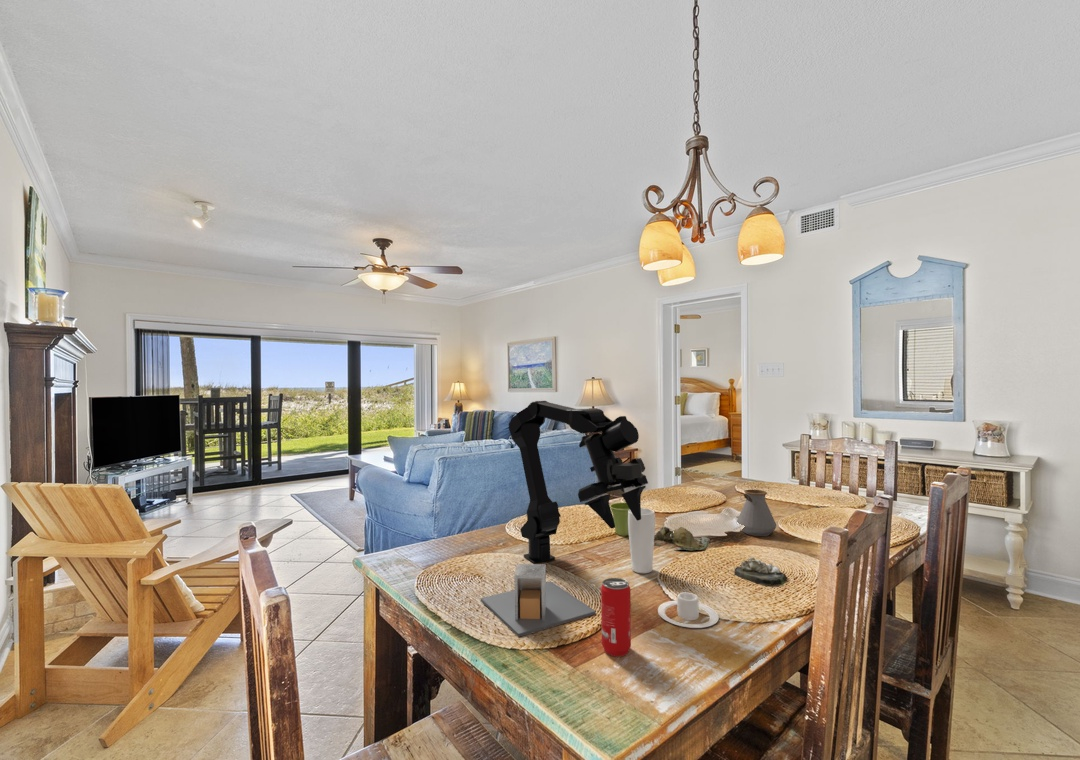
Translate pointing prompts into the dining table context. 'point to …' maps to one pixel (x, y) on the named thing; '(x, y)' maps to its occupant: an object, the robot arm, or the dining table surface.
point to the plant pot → (620, 518)
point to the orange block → (530, 604)
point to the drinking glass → (642, 540)
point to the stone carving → (760, 572)
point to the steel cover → (530, 584)
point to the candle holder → (688, 610)
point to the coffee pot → (756, 514)
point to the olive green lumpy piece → (681, 539)
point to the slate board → (557, 610)
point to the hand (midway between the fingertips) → (626, 523)
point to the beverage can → (616, 616)
